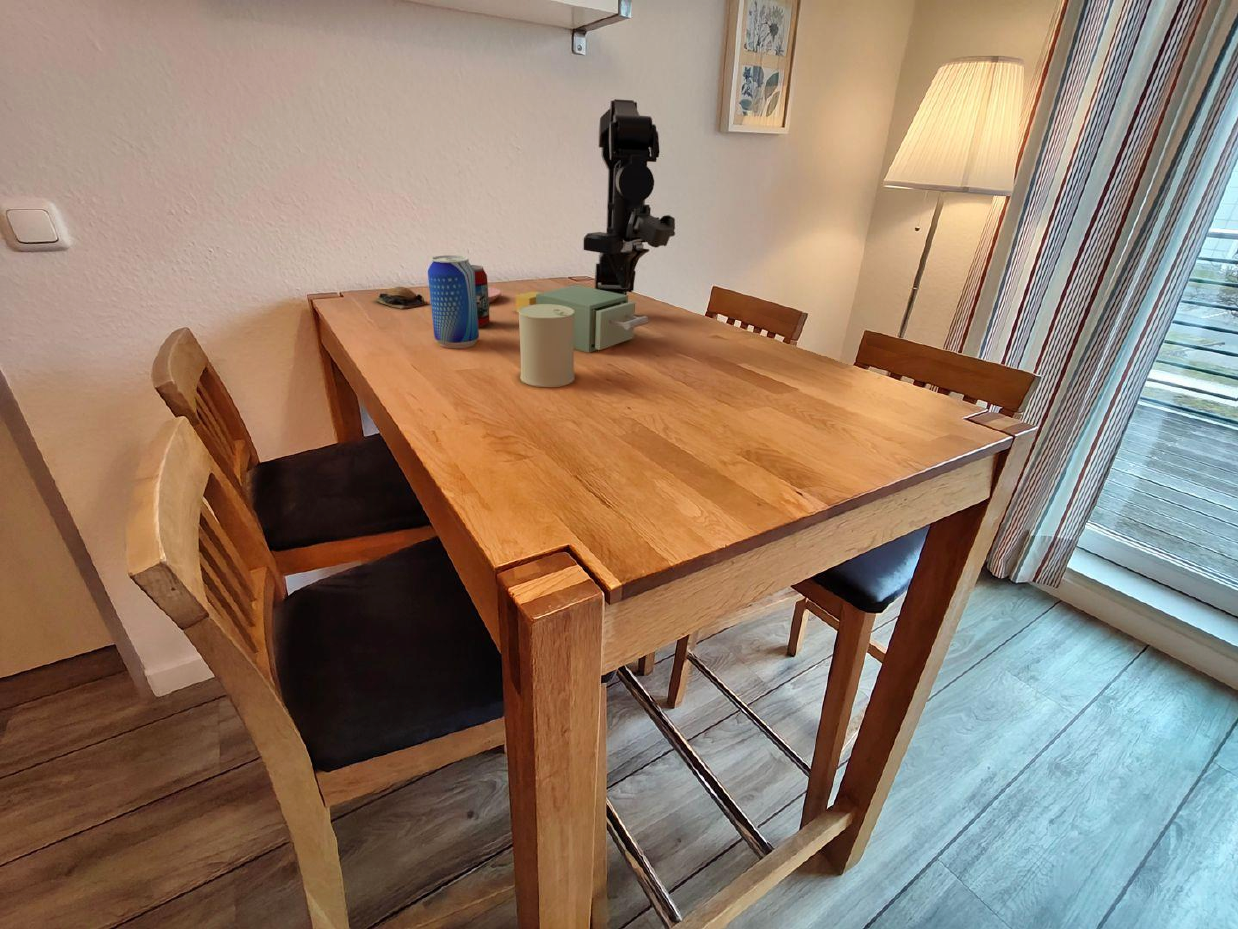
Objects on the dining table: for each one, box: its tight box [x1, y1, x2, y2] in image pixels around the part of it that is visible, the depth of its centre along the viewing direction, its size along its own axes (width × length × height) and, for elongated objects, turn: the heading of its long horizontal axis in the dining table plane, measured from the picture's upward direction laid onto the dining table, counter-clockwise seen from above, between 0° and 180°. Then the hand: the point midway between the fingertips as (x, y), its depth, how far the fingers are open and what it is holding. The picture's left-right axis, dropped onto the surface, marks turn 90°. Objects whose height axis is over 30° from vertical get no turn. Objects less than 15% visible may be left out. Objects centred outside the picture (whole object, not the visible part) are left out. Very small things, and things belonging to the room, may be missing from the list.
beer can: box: [427, 254, 480, 350], centre depth 111 cm, size 8×8×16 cm
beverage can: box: [470, 264, 491, 328], centre depth 125 cm, size 7×7×12 cm
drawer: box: [591, 301, 650, 351], centre depth 117 cm, size 17×11×7 cm, turn 54°
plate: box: [488, 286, 502, 304], centre depth 147 cm, size 14×14×2 cm
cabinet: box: [536, 284, 629, 354], centre depth 119 cm, size 14×13×9 cm
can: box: [517, 304, 575, 388], centre depth 97 cm, size 9×9×12 cm
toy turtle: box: [374, 286, 428, 310], centre depth 140 cm, size 11×8×4 cm
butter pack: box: [515, 290, 539, 314], centre depth 138 cm, size 4×6×4 cm
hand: (624, 287), depth 111 cm, fingers closed
